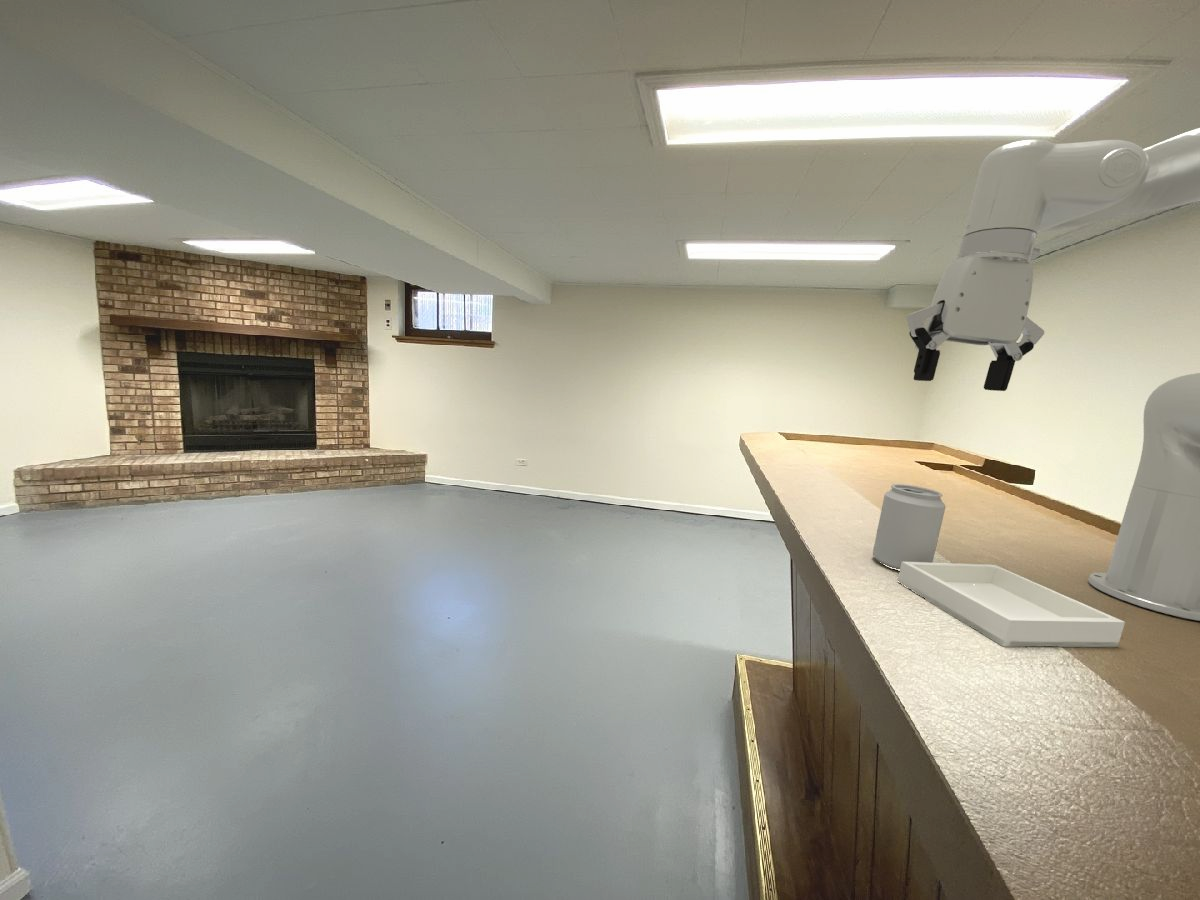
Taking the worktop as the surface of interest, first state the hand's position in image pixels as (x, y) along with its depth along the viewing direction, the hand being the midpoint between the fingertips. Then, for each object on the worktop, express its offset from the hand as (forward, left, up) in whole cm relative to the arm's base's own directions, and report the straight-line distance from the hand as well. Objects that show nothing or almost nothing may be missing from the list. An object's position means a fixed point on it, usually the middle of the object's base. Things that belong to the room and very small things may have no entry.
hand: (958, 385), depth 62 cm
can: (+1, -2, -27) cm, 27 cm away
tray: (-1, +11, -27) cm, 29 cm away
